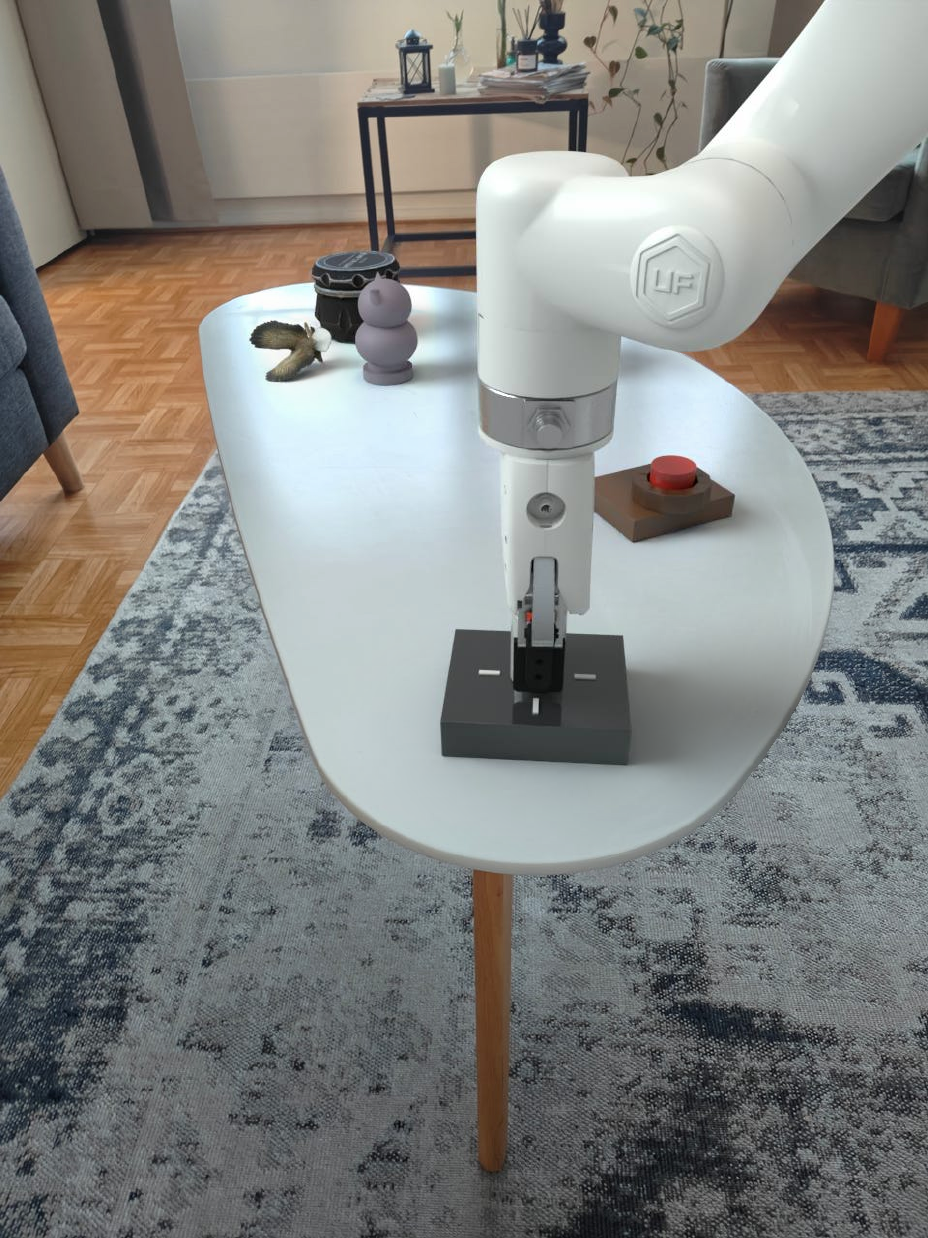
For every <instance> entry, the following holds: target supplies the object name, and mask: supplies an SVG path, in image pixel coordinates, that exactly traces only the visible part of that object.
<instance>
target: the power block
mask: <svg viewBox="0 0 928 1238" xmlns="http://www.w3.org/2000/svg"><path fill="white" fill-rule="evenodd" d="M650 470H651V463H647V464H643V465H640V466H634V467H631V468H627V469H626V468H625V469H622V470H618V471H613V472H610V473H605V474H602V475H597V476H595V490H594V513H596V514H597V515H598V516H599V517H601V518H602V519H604V521H606V522H607V523H608V524H610V525H611V526H612V527H613V528H614V529H615V530H617V531H618V532H619V533H621V534H622V535H623V536H624V537H625V538H626V539H628V540H629V541H630V542H632V543H635V542H638V541H642V540H647V539H650V538H654V537H657V536H660V535H661V536H662V535H665V534H668V533H672V532H676V531H679V530H683V529H687V528H690V527H691V528H692V527H694V526H697V525H701V524H705V523H709V522H712V521H716V520H719V519H725V518H727V517H730V516H732V515H733V511H734V504H735V499H736V494H735V493H733V492H732V491H730V490H728V489H727V488H726V487H724V486H723V485H721V484H719V483H718V482H716V481H715V480H713V479H711V475H710V474H709V473H707V472H705V470H703V469H701V468H699V467H698V466H697V468H696V475H695V482H694V486H693V487H692V488H688V489H684V490H667V489H663V488H659V487H655V486H654V485H652V484H651V483H650V480H649V479H650Z"/></svg>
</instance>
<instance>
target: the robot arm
mask: <svg viewBox="0 0 928 1238" xmlns="http://www.w3.org/2000/svg"><path fill="white" fill-rule="evenodd" d="M927 138H928V0H824V1H823V3H822V4H821V5H820V7H819V8H818V9H817V11H815V13H814V15H813V16H812V17H811V19H810V20H809V22H808V23H807V24H806V25H805V27H804V28H803V29H802V31H801V32H800V33H799V35H798V36H797V37H796V39H795V40H794V41H793V43H792V44H791V45H790V46H789V48H787V50H786V51H785V53H784V54H783V55H782V56H781V58H780V59H779V60H778V61H777V62H776V64H775V65H774V66H773V67H772V69H771V70H770V71H769V72H768V74H767V75H766V76H765V77H764V78H763V80H762V81H760V83H759V84H758V86H757V87H756V88H755V89H754V91H752V93H751V94H750V95H749V96H748V97H747V99H745V101H744V102H742V104H741V106H740V107H739V108H737V110H736V112H735V113H734V114H733V115H732V116H731V117H730V119H729V120H727V122H726V123H725V125H723V127H722V128H721V129H720V130H719V131H718V133H716V135H715V136H714V137H713V138H712V139H711V140H710V142H709V143H707V145H706V146H705V147H704V148H703V149H702V150H701V151H700V153H698V154H697V155H695V156H693V157H692V158H690V159H688V160H687V161H685V162H684V163H682V164H680V165H679V166H677V167H674V168H671V169H668V170H664V171H661V172H659V173H655V174H652V175H640V176H639V175H638V176H637V175H636V176H633V175H632V176H629V172H628V171H627V170H626V168H625V167H624V165H623V164H621V163H620V162H619V161H618V160H616V159H614V158H612V157H609V156H607V155H603V154H599V153H593V152H586V151H585V152H584V151H574V150H541V151H530V152H522V153H521V152H520V153H516V154H511V155H507V156H504V157H502V158H499V159H497V160H494V161H493V162H491V163H490V165H488V166H487V167H486V168H485V170H484V171H483V173H482V175H481V176H480V178H479V182H478V183H477V188H476V202H475V240H476V241H475V242H476V245H475V247H476V249H475V251H476V254H475V255H476V257H475V258H476V322H477V323H476V337H477V339H476V340H477V344H476V345H477V422H478V424H477V425H478V426H477V428H478V429H477V433H478V436H479V438H480V440H482V441H483V443H484V444H485V445H486V446H488V447H490V448H491V449H493V450H495V451H496V452H497V451H498V452H499V500H500V501H499V503H500V506H499V507H500V530H501V547H502V560H503V573H504V583H505V592H506V593H505V594H506V602H507V608H508V609H509V610H510V612H511V611H512V612H513V613H515V614H517V611H518V637H514V652H513V689H514V690H515V691H517V692H560V691H562V689H563V678H564V661H565V644H566V642H565V638H563V623H564V609H565V605H566V607H567V609H568V614H569V615H579V616H584V615H585V614H586V613H587V612H588V611H589V610H590V608H591V578H592V558H593V557H592V555H593V539H594V538H593V537H594V516H595V515H594V514H595V511H594V490H595V477H596V470H595V469H596V467H595V466H596V463H595V462H596V459H595V452H597V451H599V450H601V449H602V448H604V447H606V446H607V445H608V444H609V443H610V442H611V440H612V439H613V436H614V431H615V430H614V429H615V415H616V404H617V403H616V402H617V393H618V391H617V390H618V379H619V368H620V358H621V346H622V338H625V339H628V340H631V341H634V342H636V343H639V344H643V345H645V346H650V347H654V348H657V349H660V350H661V349H662V350H666V351H673V352H684V353H695V352H702V351H709V350H713V349H716V348H719V347H721V346H723V345H725V344H727V343H730V342H731V341H733V340H735V339H736V338H738V337H739V336H741V335H742V334H743V333H744V332H745V331H746V330H748V329H749V328H750V327H751V326H752V325H753V324H754V323H755V322H756V320H757V319H758V318H759V317H760V315H762V313H763V311H764V310H765V309H766V307H767V306H768V304H769V303H770V301H771V300H772V299H773V298H774V296H775V295H776V293H777V291H778V290H779V288H780V287H781V286H782V284H783V283H784V281H785V280H786V278H787V277H788V276H789V274H790V273H791V272H792V271H793V270H794V268H795V267H796V266H797V265H798V264H799V263H800V262H801V260H802V259H803V258H804V257H805V256H807V254H808V253H809V252H810V251H811V250H812V249H813V248H814V247H815V246H816V245H817V244H818V243H819V242H820V241H821V240H822V239H823V238H824V237H825V236H826V235H827V234H828V233H829V232H830V231H831V230H832V229H833V228H834V227H835V226H836V225H837V224H838V223H839V222H840V221H841V220H842V219H844V217H845V216H846V215H847V214H848V213H849V212H850V211H851V210H853V208H854V207H856V205H857V204H858V203H860V202H861V200H863V199H864V197H865V196H866V195H867V194H868V193H870V192H871V190H872V189H874V187H876V185H878V183H880V182H881V181H882V180H883V179H884V178H885V177H886V176H887V175H888V174H889V173H890V172H891V171H892V170H893V169H895V167H897V165H898V164H900V163H901V162H902V161H903V160H904V159H905V158H906V157H907V156H909V154H910V153H911V152H912V151H914V150H915V149H916V148H917V147H919V145H920V144H921V143H922V142H924V140H926V139H927ZM526 594H533V595H532V596H525V595H526ZM564 603H565V605H564ZM527 613H532V623H528V625H527Z"/></svg>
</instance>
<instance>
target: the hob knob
mask: <svg viewBox="0 0 928 1238" xmlns="http://www.w3.org/2000/svg"><path fill="white" fill-rule="evenodd" d="M532 595H533V594H526V595H525V596H532ZM564 605H565V603H564ZM568 615H569V611H568V609H567V607H566V605H565V609H564V623H563V638H565V642H566V633H568V632H567V631H568V630H567V629H568ZM528 623H532V613H527V625H528ZM510 631H511V650H510V676H511V679H512V681H513V652H514V637H518V611H517V614H515V613H513V612H512V611H511V610H510ZM565 649H566V644H565ZM564 666H565V661H564Z"/></svg>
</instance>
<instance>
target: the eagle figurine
mask: <svg viewBox="0 0 928 1238" xmlns="http://www.w3.org/2000/svg"><path fill="white" fill-rule="evenodd" d="M248 341H249V342H250V344H251V345H253V346H254V348H255V349H262V350H273V351H274V350H275V351H279V350H289V351H290V353H289V354H288V356H287V357H285V358H284V359H283V360H281V361H280V362H279V363H278V364H277V365H276V366H275V367H274V368H273V367H272V369H270V370H268V371H267V372H265V375H264V377H265V380H266V381H268V382H271V381H272V382H277V381H278V382H281V381H286V380H287V381H288V380H289V379H291V378H293V377H294V376H297V373H299V372H300V371H301V370H303V369H304V368H306V367H309V366H312V364H313V363H314V362H315V361H316V360H317V362H318V363H321V364H323V363H324V360H323V357H322V353H327V351H328V350H329V348H330V346H331V344H332V338H331V335H330V332H328V331H327V330H326V329H324V328H321V326H320V327H317V328H315V327H314V326H309V324H308V323H307V321H304V323H303V326H302V325H300V323H296V324H290V323H288V322H282V321H278V320H272V319H271V320H269V321H266V322H263V323H260V324H259V325H257V326H255V328H254V329H253V330H252V332H251V333H250V337H249V339H248Z"/></svg>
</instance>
